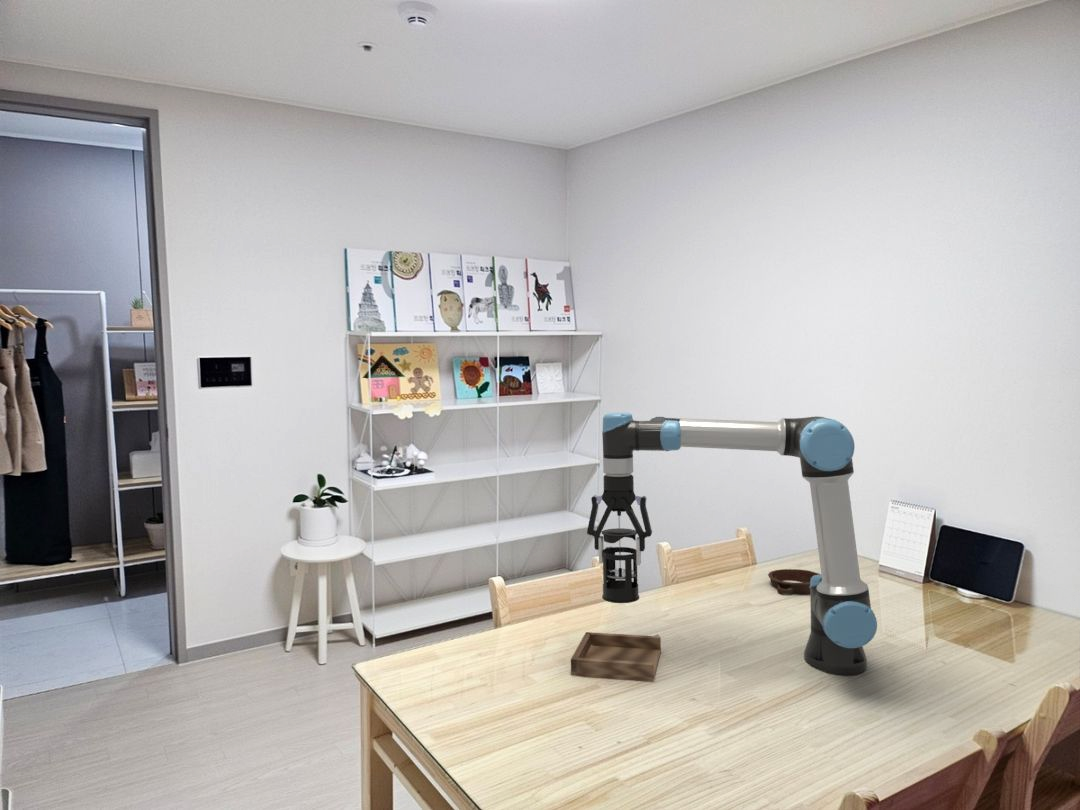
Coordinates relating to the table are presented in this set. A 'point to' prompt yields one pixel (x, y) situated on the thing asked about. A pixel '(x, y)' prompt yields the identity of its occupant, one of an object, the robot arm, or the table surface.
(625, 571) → the french press
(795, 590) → the dish
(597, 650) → the wooden tray
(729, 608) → the table surface
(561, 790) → the table surface
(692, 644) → the table surface
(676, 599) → the table surface
